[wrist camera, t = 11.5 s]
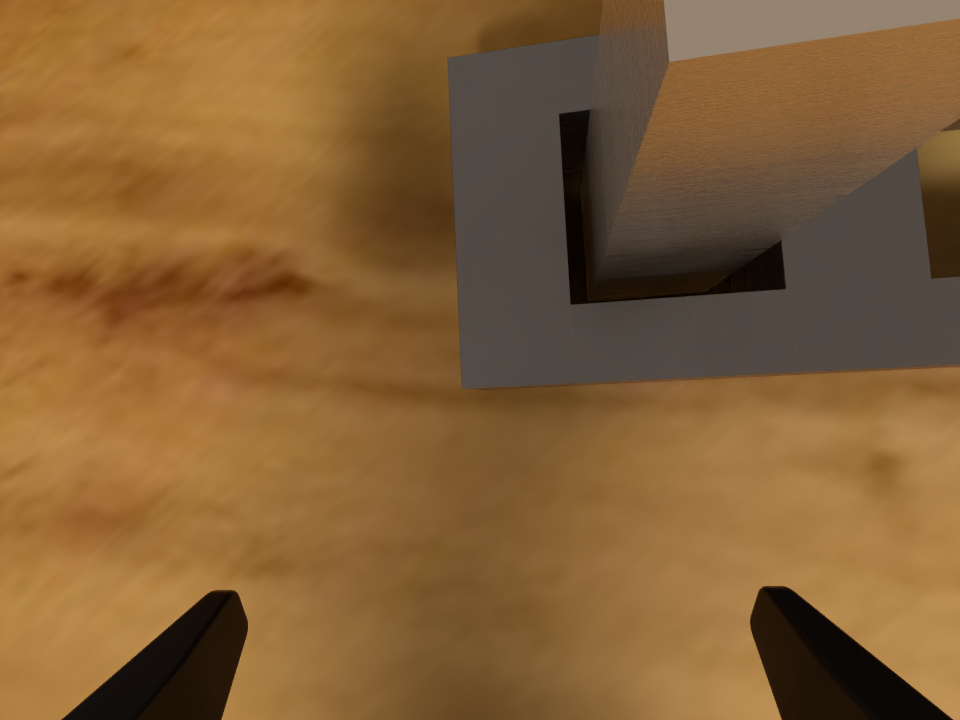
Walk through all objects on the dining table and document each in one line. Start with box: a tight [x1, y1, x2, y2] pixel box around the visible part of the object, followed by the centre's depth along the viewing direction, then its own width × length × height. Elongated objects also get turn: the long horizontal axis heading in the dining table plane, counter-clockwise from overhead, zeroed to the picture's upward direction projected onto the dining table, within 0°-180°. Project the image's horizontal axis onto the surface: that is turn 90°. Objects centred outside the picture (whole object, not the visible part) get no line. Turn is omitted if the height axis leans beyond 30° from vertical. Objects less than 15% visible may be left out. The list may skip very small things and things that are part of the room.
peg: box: [580, 0, 960, 301], centre depth 11 cm, size 4×4×13 cm
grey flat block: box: [448, 35, 960, 390], centre depth 15 cm, size 20×10×4 cm, turn 93°
